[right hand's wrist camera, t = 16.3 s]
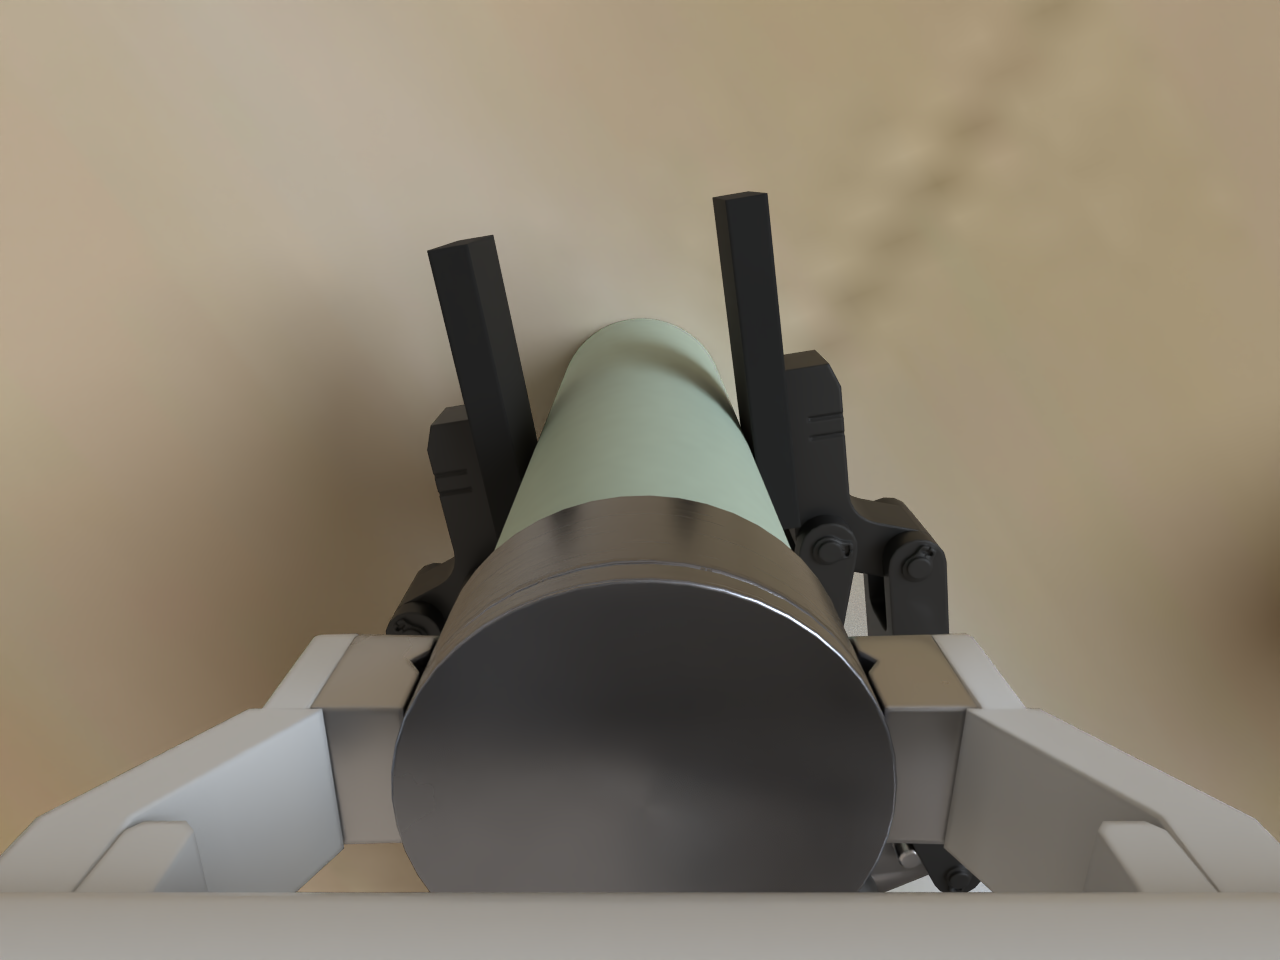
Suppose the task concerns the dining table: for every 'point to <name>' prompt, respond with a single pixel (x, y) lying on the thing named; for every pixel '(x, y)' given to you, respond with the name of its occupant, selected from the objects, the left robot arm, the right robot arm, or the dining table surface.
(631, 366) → the bottle
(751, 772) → the lid
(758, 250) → the left robot arm
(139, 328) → the dining table surface
